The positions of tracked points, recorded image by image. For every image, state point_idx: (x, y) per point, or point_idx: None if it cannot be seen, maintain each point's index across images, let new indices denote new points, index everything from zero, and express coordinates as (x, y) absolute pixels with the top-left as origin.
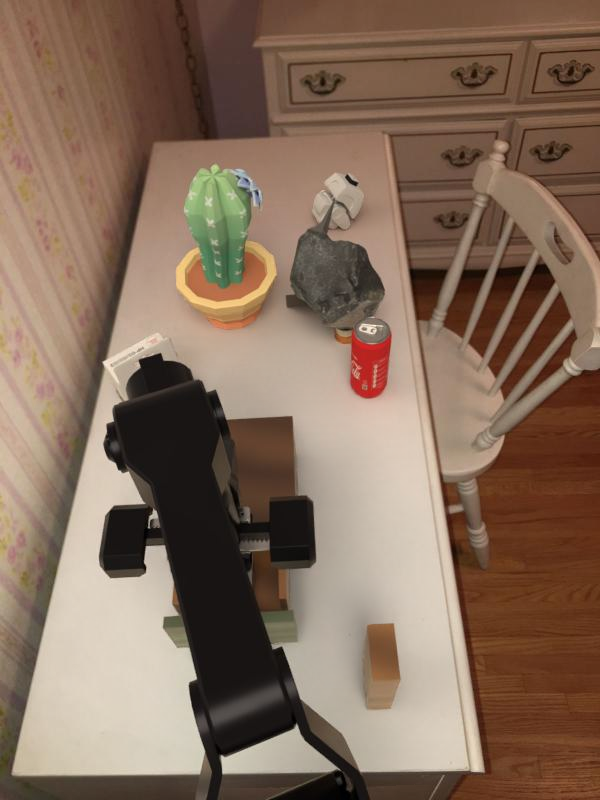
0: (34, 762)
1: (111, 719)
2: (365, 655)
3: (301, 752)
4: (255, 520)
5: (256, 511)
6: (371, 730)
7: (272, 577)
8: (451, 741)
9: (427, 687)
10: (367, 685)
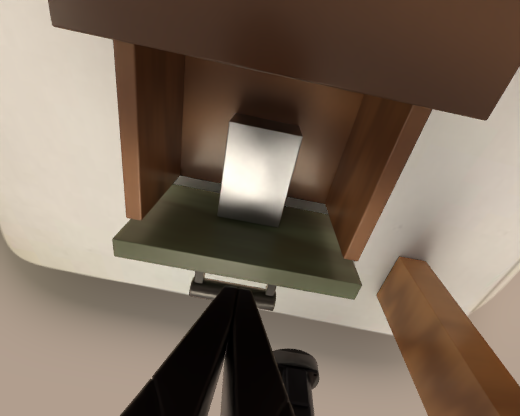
0: (24, 257)
1: (96, 241)
2: (428, 324)
3: (296, 307)
4: (370, 66)
5: (387, 24)
6: (370, 308)
7: (329, 137)
8: None
9: (451, 293)
10: (403, 330)
